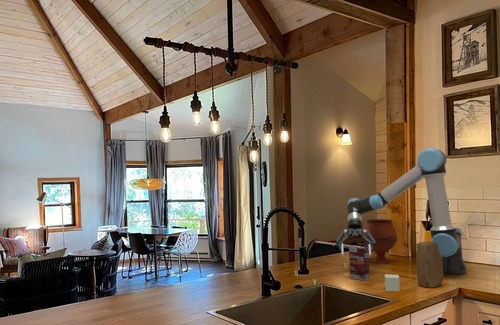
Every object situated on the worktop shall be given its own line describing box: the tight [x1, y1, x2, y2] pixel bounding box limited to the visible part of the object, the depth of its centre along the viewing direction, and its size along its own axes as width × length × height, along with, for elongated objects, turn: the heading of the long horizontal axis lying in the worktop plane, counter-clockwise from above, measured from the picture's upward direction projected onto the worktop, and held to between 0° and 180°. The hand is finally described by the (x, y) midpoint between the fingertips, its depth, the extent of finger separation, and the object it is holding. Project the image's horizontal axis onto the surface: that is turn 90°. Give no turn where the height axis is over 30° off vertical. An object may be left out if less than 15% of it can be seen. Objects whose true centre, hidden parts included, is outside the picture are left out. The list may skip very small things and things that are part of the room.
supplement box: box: [348, 245, 370, 281], centre depth 207 cm, size 9×5×16 cm, turn 47°
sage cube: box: [384, 273, 401, 292], centre depth 186 cm, size 6×6×6 cm
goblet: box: [363, 218, 398, 265], centre depth 245 cm, size 19×19×25 cm
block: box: [415, 240, 444, 289], centre depth 191 cm, size 11×8×20 cm
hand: (356, 255), depth 210 cm, fingers open, 13 cm apart
